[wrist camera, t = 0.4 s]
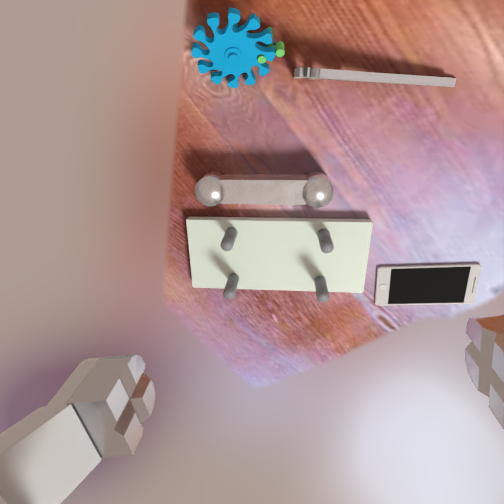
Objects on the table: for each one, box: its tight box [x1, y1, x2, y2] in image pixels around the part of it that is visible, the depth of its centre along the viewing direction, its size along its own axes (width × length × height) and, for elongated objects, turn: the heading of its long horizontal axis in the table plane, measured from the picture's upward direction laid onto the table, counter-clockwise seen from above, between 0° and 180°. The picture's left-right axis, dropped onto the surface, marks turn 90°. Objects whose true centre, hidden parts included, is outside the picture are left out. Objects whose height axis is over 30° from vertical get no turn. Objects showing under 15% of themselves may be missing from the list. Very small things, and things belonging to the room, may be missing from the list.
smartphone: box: [375, 263, 481, 305], centre depth 56 cm, size 7×16×1 cm, turn 95°
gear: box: [192, 7, 285, 88], centre depth 42 cm, size 11×6×10 cm
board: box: [186, 217, 373, 302], centre depth 53 cm, size 12×28×6 cm, turn 91°
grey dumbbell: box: [195, 171, 333, 208], centre depth 50 cm, size 4×19×4 cm, turn 91°
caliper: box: [294, 67, 457, 87], centre depth 42 cm, size 20×1×6 cm, turn 87°
